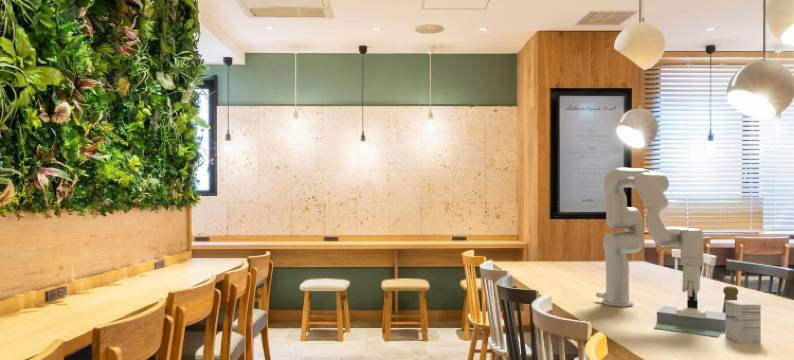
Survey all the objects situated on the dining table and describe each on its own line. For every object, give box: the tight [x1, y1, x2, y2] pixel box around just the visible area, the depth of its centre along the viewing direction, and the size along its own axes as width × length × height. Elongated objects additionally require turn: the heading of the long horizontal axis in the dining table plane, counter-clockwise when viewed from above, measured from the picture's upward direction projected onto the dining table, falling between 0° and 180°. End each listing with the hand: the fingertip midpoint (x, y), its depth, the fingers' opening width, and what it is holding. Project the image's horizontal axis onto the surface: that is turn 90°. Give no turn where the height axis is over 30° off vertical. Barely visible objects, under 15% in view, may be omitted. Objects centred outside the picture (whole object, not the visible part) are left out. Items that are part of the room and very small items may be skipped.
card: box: [677, 306, 707, 319], centre depth 199 cm, size 9×6×2 cm, turn 56°
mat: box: [653, 323, 722, 338], centre depth 193 cm, size 20×10×1 cm, turn 54°
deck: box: [656, 305, 726, 332], centre depth 204 cm, size 22×14×4 cm, turn 54°
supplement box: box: [725, 299, 762, 344], centre depth 180 cm, size 7×7×13 cm
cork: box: [721, 285, 739, 313], centre depth 220 cm, size 6×6×11 cm
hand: (692, 310), depth 203 cm, fingers closed
